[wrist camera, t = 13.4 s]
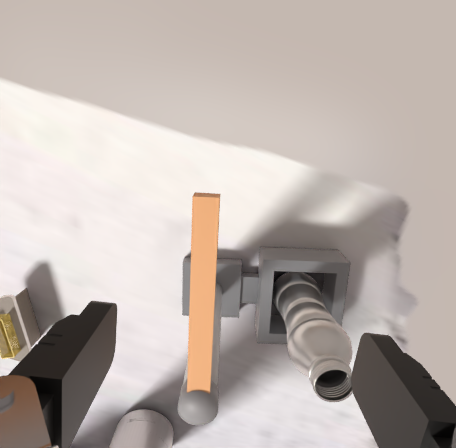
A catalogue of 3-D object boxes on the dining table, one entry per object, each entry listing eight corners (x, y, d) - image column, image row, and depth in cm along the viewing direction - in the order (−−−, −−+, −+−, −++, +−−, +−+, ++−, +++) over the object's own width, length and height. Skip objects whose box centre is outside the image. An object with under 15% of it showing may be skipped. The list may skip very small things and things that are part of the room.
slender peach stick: (185, 191, 25) (181, 196, 23) (229, 194, 25) (230, 198, 23) (180, 407, 29) (177, 424, 28) (217, 409, 29) (216, 426, 28)
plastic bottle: (280, 260, 49) (312, 343, 29) (324, 275, 49) (384, 366, 30) (263, 299, 50) (284, 403, 31) (306, 313, 51) (353, 424, 31)
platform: (8, 367, 54) (-22, 399, 48) (-29, 261, 49) (-67, 280, 43) (82, 359, 54) (63, 389, 47) (52, 250, 49) (26, 268, 43)
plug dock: (328, 326, 51) (392, 452, 31) (184, 320, 51) (154, 443, 31) (338, 249, 48) (416, 334, 28) (184, 243, 48) (151, 324, 28)
